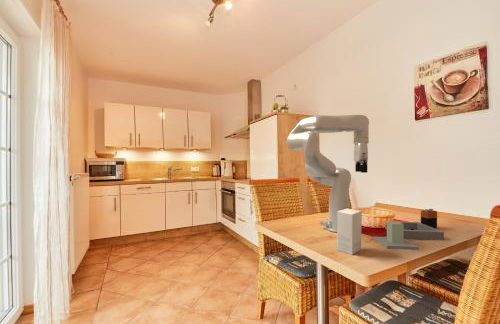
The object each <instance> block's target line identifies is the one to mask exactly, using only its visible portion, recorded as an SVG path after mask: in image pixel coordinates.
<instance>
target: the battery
mask: <svg viewBox="0 0 500 324" xmlns="http://www.w3.org/2000/svg"><path fill="white" fill-rule="evenodd" d="M420 223H422V224H425V225H427V226H430V227H432V228H435V229H437V228H438V211H437V210H434V208H428V209H427V208H424V209H421V210H420Z"/></svg>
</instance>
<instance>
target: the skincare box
mask: <svg viewBox="0 0 500 324" xmlns="http://www.w3.org/2000/svg"><path fill="white" fill-rule="evenodd" d="M337 212H338V214H337V232H336V233H337V234H336V251H338V252H342V253H345V254H348V255H351V256H353V255H354V254H356V253H358V252H359V251H361V250H362V215H363V213H362V212H363V211H362V210H359V209H355V208H354V209H353V208H349V209H348V208H347V209H344V210H340V211H337Z"/></svg>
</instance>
